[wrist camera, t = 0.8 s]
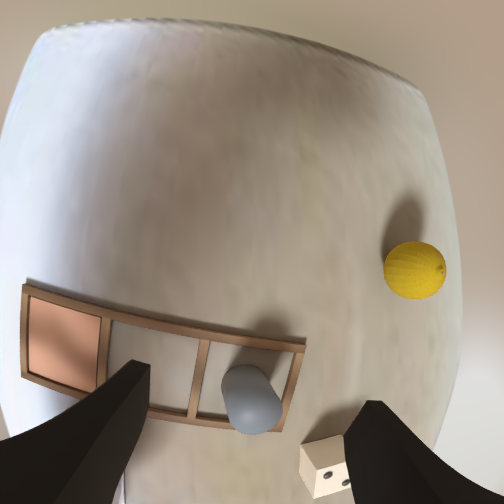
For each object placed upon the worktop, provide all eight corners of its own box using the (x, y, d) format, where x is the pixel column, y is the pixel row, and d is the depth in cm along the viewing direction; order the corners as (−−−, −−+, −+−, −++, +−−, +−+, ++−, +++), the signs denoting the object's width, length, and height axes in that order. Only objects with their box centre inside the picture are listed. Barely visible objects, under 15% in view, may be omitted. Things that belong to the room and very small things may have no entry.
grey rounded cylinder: (261, 406, 27) (275, 435, 22) (217, 401, 26) (223, 432, 21) (271, 367, 27) (288, 392, 22) (225, 361, 26) (234, 387, 21)
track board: (279, 429, 27) (281, 432, 27) (23, 375, 22) (21, 377, 21) (304, 343, 28) (306, 345, 27) (25, 283, 22) (22, 284, 22)
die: (337, 463, 29) (355, 486, 24) (299, 473, 28) (314, 499, 23) (340, 434, 29) (361, 457, 24) (300, 444, 28) (317, 471, 23)
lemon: (410, 245, 30) (463, 245, 22) (404, 295, 30) (456, 305, 22) (372, 238, 29) (424, 235, 21) (365, 292, 29) (416, 304, 21)
